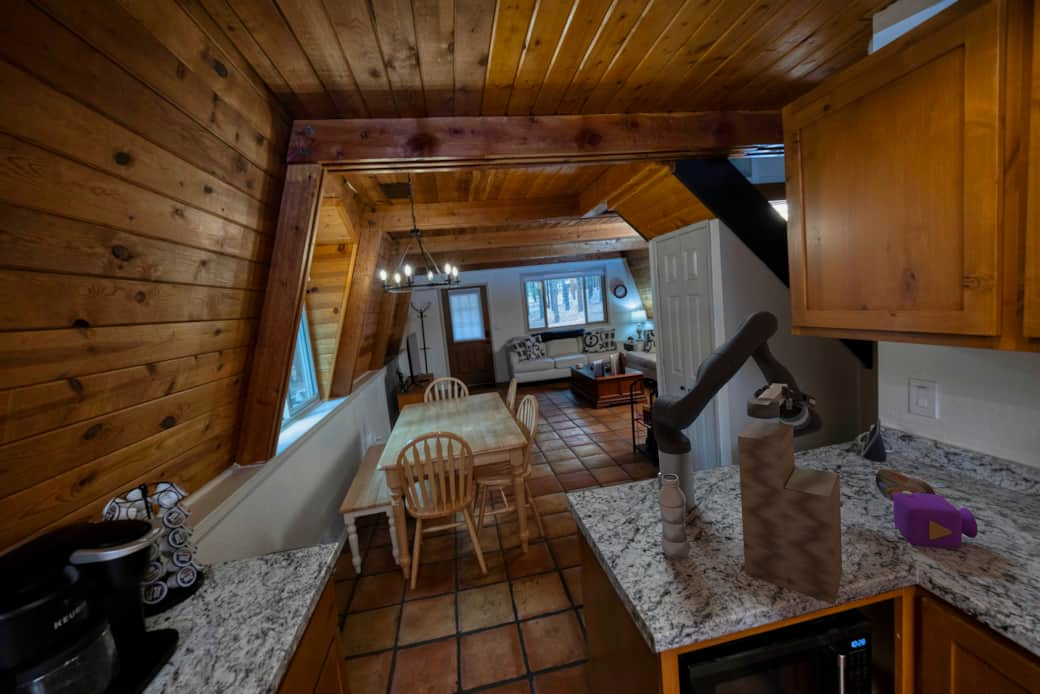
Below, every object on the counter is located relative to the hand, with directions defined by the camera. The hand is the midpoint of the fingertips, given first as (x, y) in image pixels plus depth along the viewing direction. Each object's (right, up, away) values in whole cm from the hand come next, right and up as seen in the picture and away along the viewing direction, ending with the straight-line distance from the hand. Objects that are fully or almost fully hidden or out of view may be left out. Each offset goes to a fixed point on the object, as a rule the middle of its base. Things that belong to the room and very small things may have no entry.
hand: (774, 389), depth 95 cm
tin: (+45, -33, +16) cm, 58 cm away
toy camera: (+38, -35, +1) cm, 52 cm away
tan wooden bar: (-2, -4, -3) cm, 5 cm away
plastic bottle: (-21, -41, +5) cm, 47 cm away
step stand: (+1, -40, -6) cm, 40 cm away
